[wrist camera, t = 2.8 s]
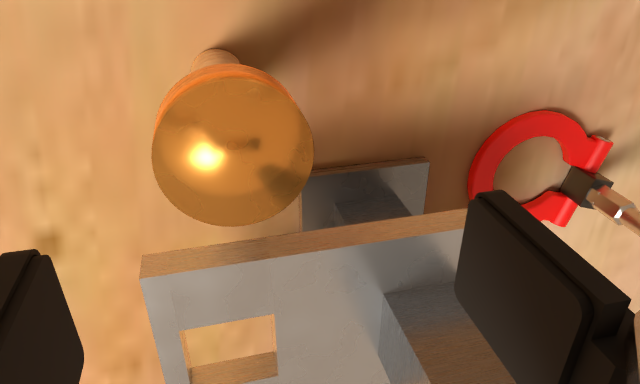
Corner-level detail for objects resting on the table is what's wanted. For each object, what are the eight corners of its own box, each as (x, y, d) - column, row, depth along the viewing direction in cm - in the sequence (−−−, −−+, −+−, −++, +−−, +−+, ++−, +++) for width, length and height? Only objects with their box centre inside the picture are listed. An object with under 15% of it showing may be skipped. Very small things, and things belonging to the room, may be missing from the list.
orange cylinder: (154, 23, 22) (136, 87, 13) (265, 18, 23) (313, 74, 15) (172, 127, 24) (166, 236, 16) (271, 119, 26) (314, 215, 17)
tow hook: (445, 211, 33) (551, 228, 35) (566, 355, 21) (707, 362, 24) (496, 95, 29) (610, 124, 32) (673, 195, 18) (824, 225, 21)
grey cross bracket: (152, 172, 25) (117, 456, 12) (426, 141, 29) (639, 336, 15) (180, 309, 30) (178, 618, 17) (410, 270, 34) (561, 501, 20)
